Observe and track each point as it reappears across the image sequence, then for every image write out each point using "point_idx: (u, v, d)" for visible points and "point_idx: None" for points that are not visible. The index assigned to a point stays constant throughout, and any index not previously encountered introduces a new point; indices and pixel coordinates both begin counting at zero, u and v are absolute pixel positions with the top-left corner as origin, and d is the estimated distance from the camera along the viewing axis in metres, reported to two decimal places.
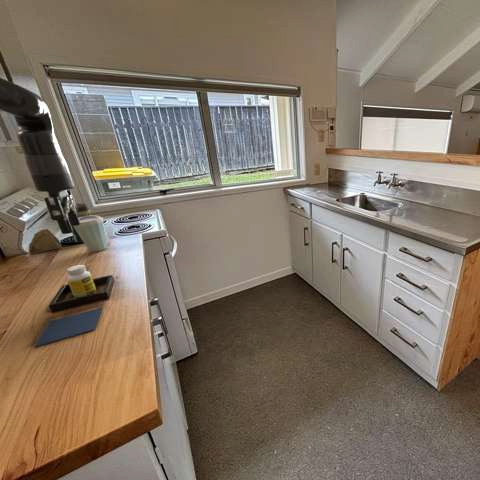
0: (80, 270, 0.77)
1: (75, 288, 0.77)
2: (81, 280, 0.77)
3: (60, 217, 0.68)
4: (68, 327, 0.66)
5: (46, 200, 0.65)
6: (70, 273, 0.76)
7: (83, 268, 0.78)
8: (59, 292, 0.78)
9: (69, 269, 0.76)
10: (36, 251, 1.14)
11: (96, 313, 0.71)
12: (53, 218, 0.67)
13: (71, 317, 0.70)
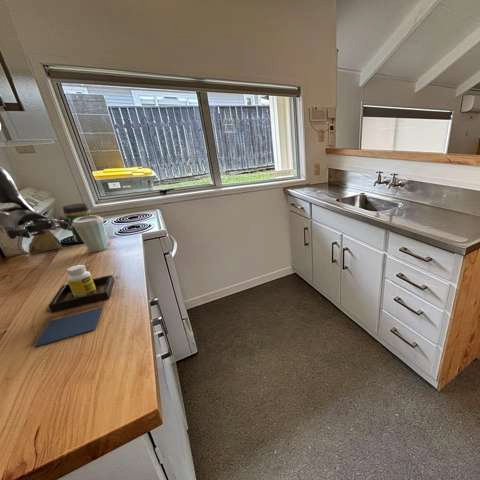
0: (80, 270, 0.77)
1: (75, 288, 0.77)
2: (81, 280, 0.77)
3: None
4: (68, 327, 0.66)
5: None
6: (70, 273, 0.76)
7: (83, 268, 0.78)
8: (59, 292, 0.78)
9: (69, 269, 0.76)
10: (36, 251, 1.14)
11: (96, 313, 0.71)
12: (69, 219, 0.86)
13: (71, 317, 0.70)
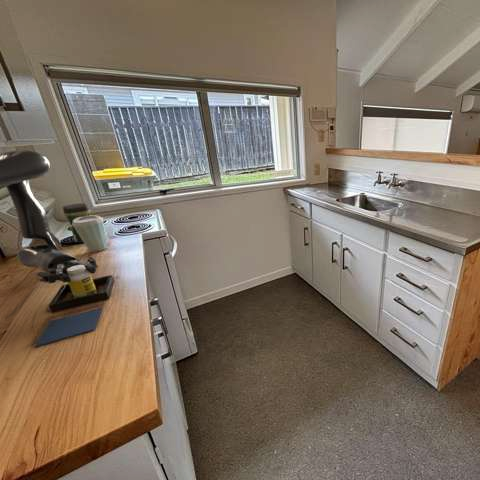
0: (80, 270, 0.77)
1: (74, 288, 0.77)
2: (81, 280, 0.77)
3: None
4: (68, 327, 0.66)
5: (92, 257, 0.86)
6: (70, 273, 0.76)
7: (83, 268, 0.78)
8: (59, 292, 0.78)
9: (69, 269, 0.76)
10: None
11: (96, 313, 0.71)
12: (95, 261, 0.83)
13: (71, 317, 0.70)
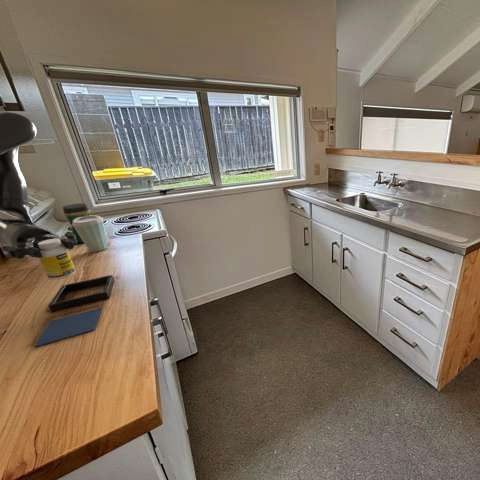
0: (54, 244, 0.65)
1: (48, 265, 0.65)
2: (55, 256, 0.65)
3: None
4: (68, 327, 0.66)
5: (71, 232, 0.74)
6: (42, 247, 0.64)
7: (58, 242, 0.66)
8: (59, 292, 0.78)
9: (41, 243, 0.64)
10: None
11: (96, 313, 0.71)
12: (74, 236, 0.71)
13: (71, 317, 0.70)
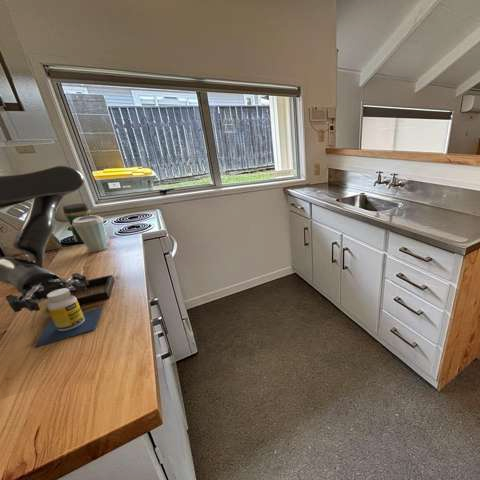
0: (63, 295, 0.63)
1: (57, 317, 0.63)
2: (64, 308, 0.63)
3: None
4: None
5: None
6: (51, 300, 0.62)
7: (67, 293, 0.64)
8: None
9: (50, 295, 0.62)
10: None
11: (96, 313, 0.71)
12: None
13: None
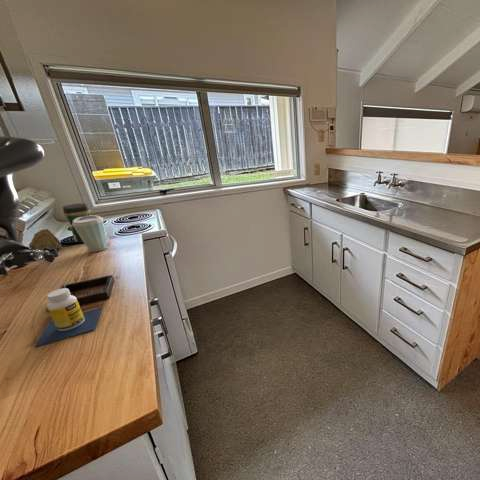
0: (63, 295, 0.63)
1: (57, 317, 0.63)
2: (64, 308, 0.63)
3: None
4: None
5: None
6: (51, 300, 0.62)
7: (67, 293, 0.64)
8: None
9: (50, 295, 0.62)
10: None
11: (96, 313, 0.71)
12: (55, 249, 0.75)
13: None
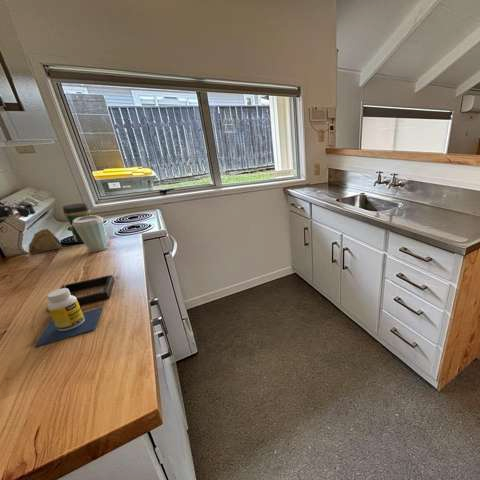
0: (63, 295, 0.63)
1: (57, 317, 0.63)
2: (64, 308, 0.63)
3: None
4: None
5: None
6: (51, 300, 0.62)
7: (67, 293, 0.64)
8: None
9: (50, 295, 0.62)
10: (36, 251, 1.14)
11: (96, 313, 0.71)
12: (32, 205, 0.71)
13: None
